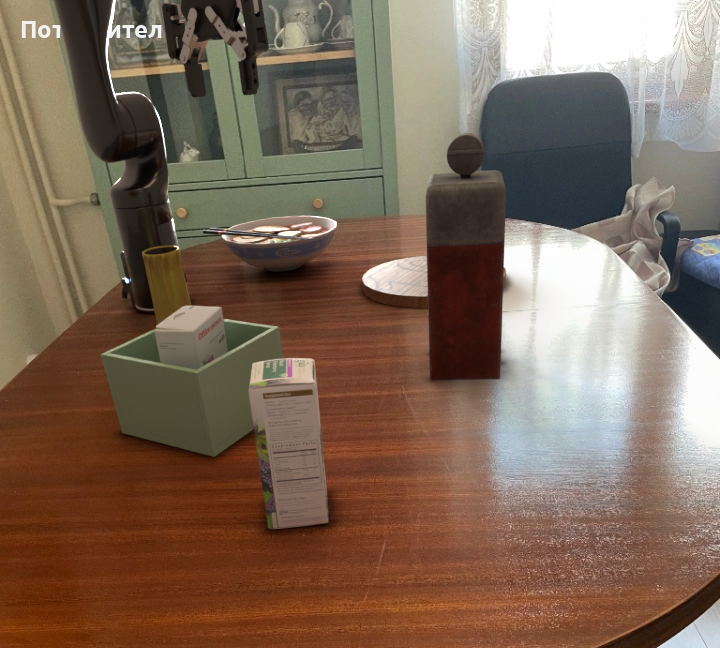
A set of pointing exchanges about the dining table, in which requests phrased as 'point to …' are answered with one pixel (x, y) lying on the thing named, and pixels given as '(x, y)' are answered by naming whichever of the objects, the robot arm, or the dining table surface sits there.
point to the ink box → (192, 337)
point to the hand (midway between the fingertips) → (224, 95)
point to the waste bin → (189, 389)
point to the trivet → (400, 282)
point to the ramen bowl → (278, 240)
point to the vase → (166, 280)
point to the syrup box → (289, 441)
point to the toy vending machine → (465, 265)
